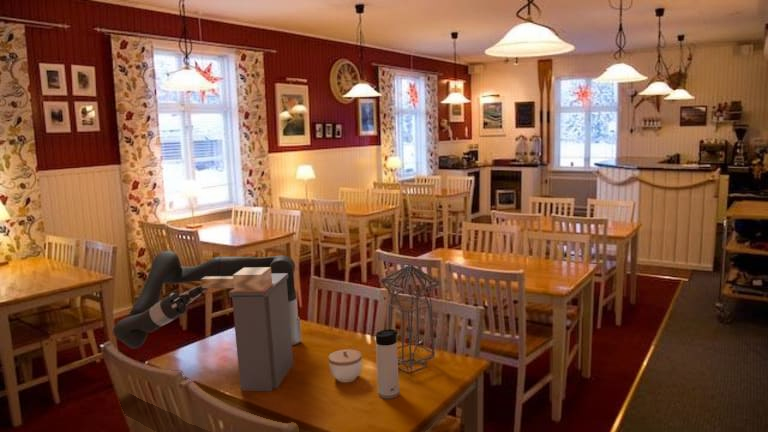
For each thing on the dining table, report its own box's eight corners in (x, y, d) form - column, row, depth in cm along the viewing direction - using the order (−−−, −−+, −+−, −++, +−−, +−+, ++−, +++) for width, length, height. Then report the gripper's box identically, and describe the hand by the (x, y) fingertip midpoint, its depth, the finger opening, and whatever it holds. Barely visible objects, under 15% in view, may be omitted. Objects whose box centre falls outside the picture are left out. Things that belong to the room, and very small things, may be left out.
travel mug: (398, 399, 171) (395, 335, 168) (376, 398, 172) (373, 334, 169) (402, 390, 177) (399, 327, 174) (380, 389, 178) (377, 327, 175)
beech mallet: (197, 290, 180) (195, 275, 179) (209, 283, 188) (208, 268, 188) (262, 290, 177) (261, 274, 176) (272, 282, 185) (270, 267, 185)
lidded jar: (337, 388, 180) (336, 360, 179) (324, 376, 190) (323, 349, 188) (368, 380, 185) (367, 352, 184) (354, 368, 194) (353, 342, 193)
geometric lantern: (415, 353, 205) (414, 257, 199) (444, 369, 192) (443, 266, 186) (378, 364, 196) (375, 264, 190) (405, 381, 183) (403, 274, 177)
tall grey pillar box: (237, 390, 182) (228, 291, 177) (261, 362, 204) (254, 273, 199) (274, 391, 181) (266, 291, 175) (294, 362, 202) (288, 272, 197)
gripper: (149, 306, 180) (189, 281, 177) (172, 293, 194) (210, 269, 191) (163, 326, 180) (203, 301, 177) (185, 312, 194) (222, 288, 191)
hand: (206, 285), depth 184 cm, fingers open, 8 cm apart
